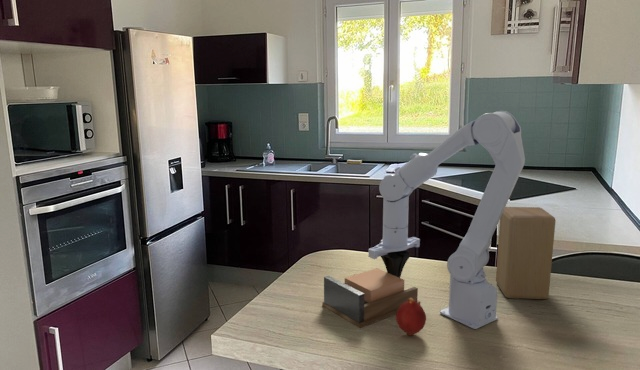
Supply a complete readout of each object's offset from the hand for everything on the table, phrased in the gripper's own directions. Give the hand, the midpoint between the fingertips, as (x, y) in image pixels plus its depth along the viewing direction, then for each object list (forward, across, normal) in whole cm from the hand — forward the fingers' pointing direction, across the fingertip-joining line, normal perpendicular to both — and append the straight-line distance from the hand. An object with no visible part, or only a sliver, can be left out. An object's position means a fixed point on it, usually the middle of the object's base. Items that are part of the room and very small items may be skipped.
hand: (394, 281), depth 116 cm
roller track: (+4, +7, 0) cm, 8 cm away
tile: (+1, +6, 0) cm, 6 cm away
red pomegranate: (+4, +10, +15) cm, 18 cm away
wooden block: (+4, -27, +16) cm, 32 cm away
